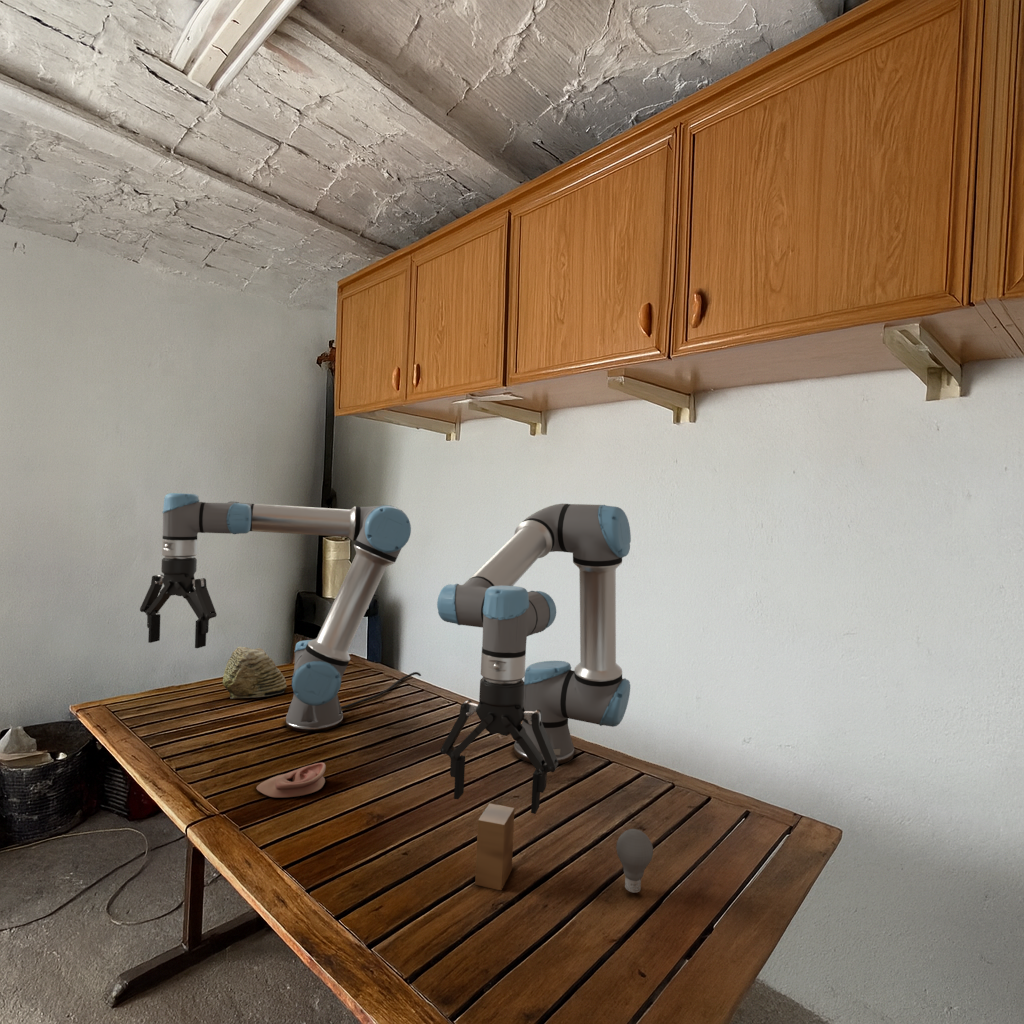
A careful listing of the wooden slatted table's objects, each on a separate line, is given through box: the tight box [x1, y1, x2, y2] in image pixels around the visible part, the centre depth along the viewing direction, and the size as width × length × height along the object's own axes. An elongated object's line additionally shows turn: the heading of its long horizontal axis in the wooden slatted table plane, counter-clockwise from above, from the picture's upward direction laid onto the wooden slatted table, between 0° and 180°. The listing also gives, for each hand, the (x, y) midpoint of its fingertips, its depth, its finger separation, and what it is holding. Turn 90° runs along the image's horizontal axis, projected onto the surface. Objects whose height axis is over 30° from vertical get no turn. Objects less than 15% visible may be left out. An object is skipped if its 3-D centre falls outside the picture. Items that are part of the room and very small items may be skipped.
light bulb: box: [615, 828, 654, 894], centre depth 106 cm, size 6×6×10 cm
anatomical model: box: [256, 762, 327, 799], centre depth 137 cm, size 13×4×12 cm
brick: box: [474, 802, 515, 891], centre depth 108 cm, size 6×5×11 cm
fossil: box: [222, 646, 288, 699], centre depth 198 cm, size 9×18×15 cm, turn 132°
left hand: (176, 644), depth 154 cm, fingers open, 13 cm apart
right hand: (496, 803), depth 107 cm, fingers open, 13 cm apart
